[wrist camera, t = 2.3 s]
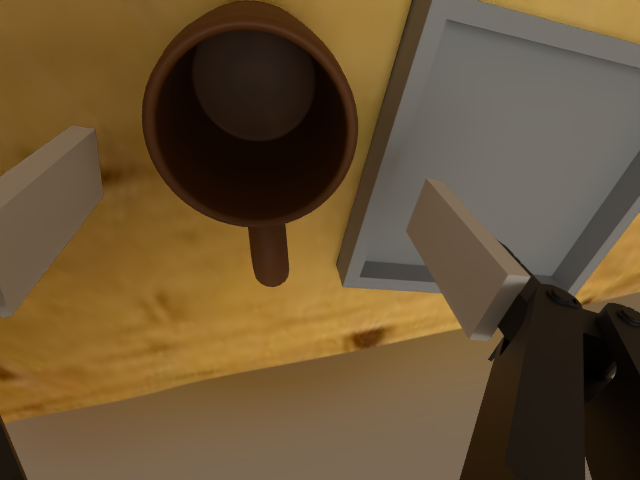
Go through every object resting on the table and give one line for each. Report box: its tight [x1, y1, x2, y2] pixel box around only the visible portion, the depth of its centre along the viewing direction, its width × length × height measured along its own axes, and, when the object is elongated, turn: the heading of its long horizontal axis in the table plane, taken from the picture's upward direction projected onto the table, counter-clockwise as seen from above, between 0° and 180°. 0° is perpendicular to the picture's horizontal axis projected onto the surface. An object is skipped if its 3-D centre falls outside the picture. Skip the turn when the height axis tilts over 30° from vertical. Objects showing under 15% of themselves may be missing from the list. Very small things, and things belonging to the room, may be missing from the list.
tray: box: [336, 0, 640, 296], centre depth 25 cm, size 20×18×3 cm
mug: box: [142, 1, 358, 287], centre depth 18 cm, size 12×8×9 cm, turn 1°
